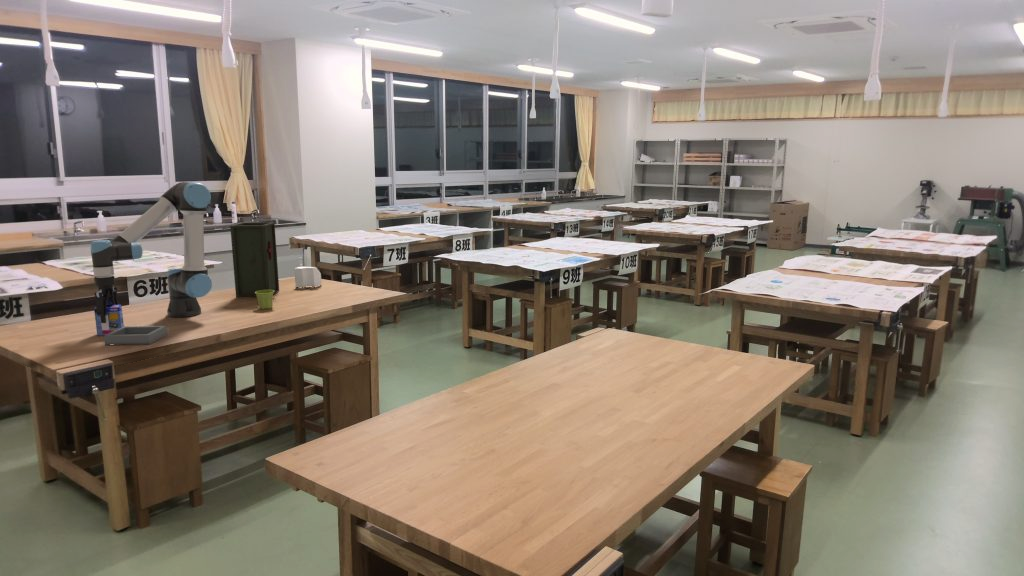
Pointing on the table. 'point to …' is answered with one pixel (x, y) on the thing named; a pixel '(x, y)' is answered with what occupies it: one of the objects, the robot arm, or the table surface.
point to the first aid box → (254, 258)
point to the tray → (135, 335)
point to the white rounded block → (307, 276)
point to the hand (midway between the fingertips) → (110, 327)
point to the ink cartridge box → (110, 319)
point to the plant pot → (265, 298)
